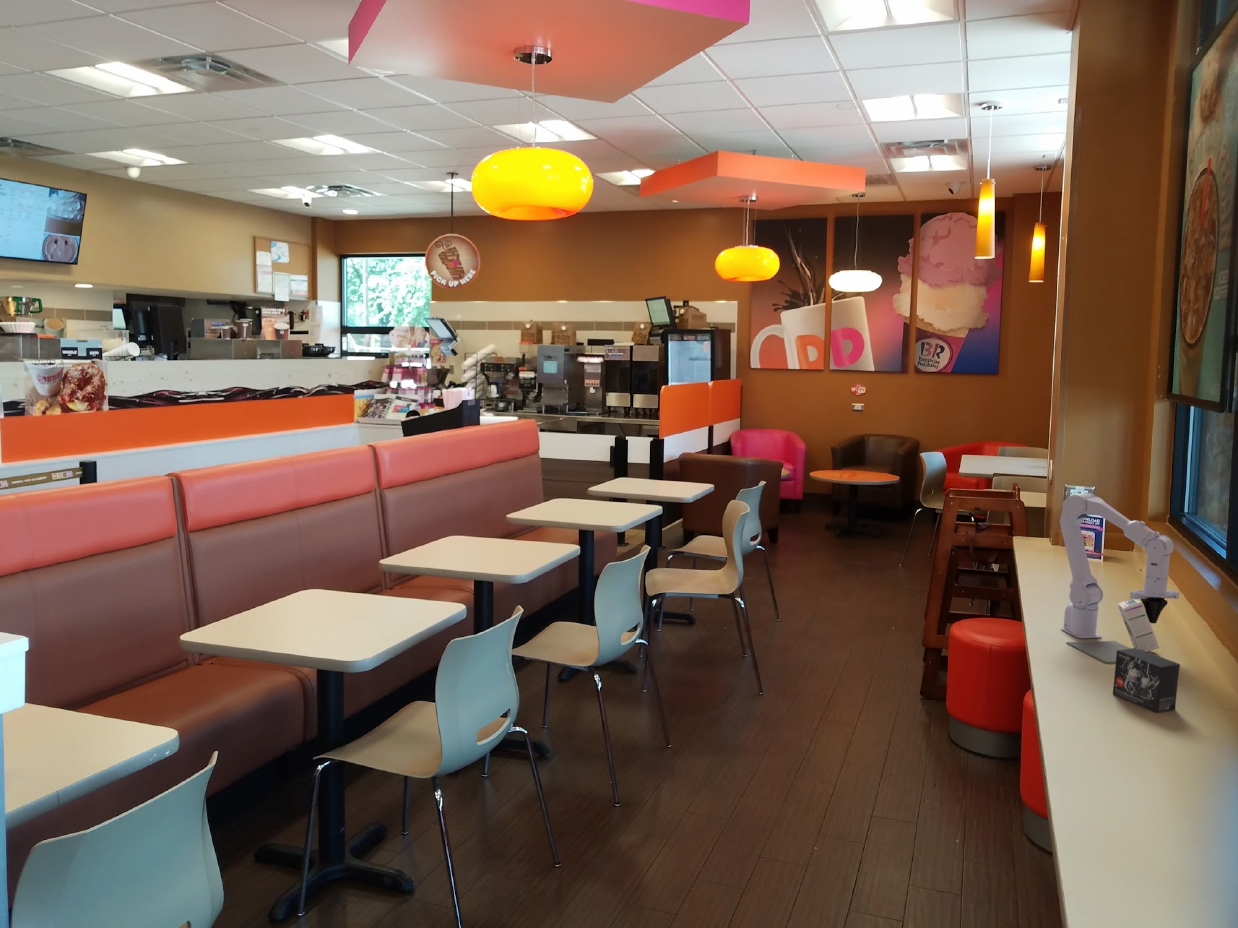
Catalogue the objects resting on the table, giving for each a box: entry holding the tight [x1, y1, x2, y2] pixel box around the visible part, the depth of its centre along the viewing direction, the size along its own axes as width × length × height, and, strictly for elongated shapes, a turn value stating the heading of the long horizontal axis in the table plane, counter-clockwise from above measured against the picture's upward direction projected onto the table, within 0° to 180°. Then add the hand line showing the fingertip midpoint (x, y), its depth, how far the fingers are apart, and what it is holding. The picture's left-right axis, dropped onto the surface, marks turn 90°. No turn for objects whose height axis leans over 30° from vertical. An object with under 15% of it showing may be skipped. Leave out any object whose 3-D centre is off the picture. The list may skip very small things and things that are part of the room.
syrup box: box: [1117, 598, 1160, 652], centre depth 279 cm, size 6×6×14 cm
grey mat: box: [1065, 640, 1132, 664], centre depth 277 cm, size 18×16×1 cm
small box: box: [1112, 647, 1181, 714], centre depth 238 cm, size 13×7×12 cm, turn 21°
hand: (1151, 622), depth 278 cm, fingers closed
